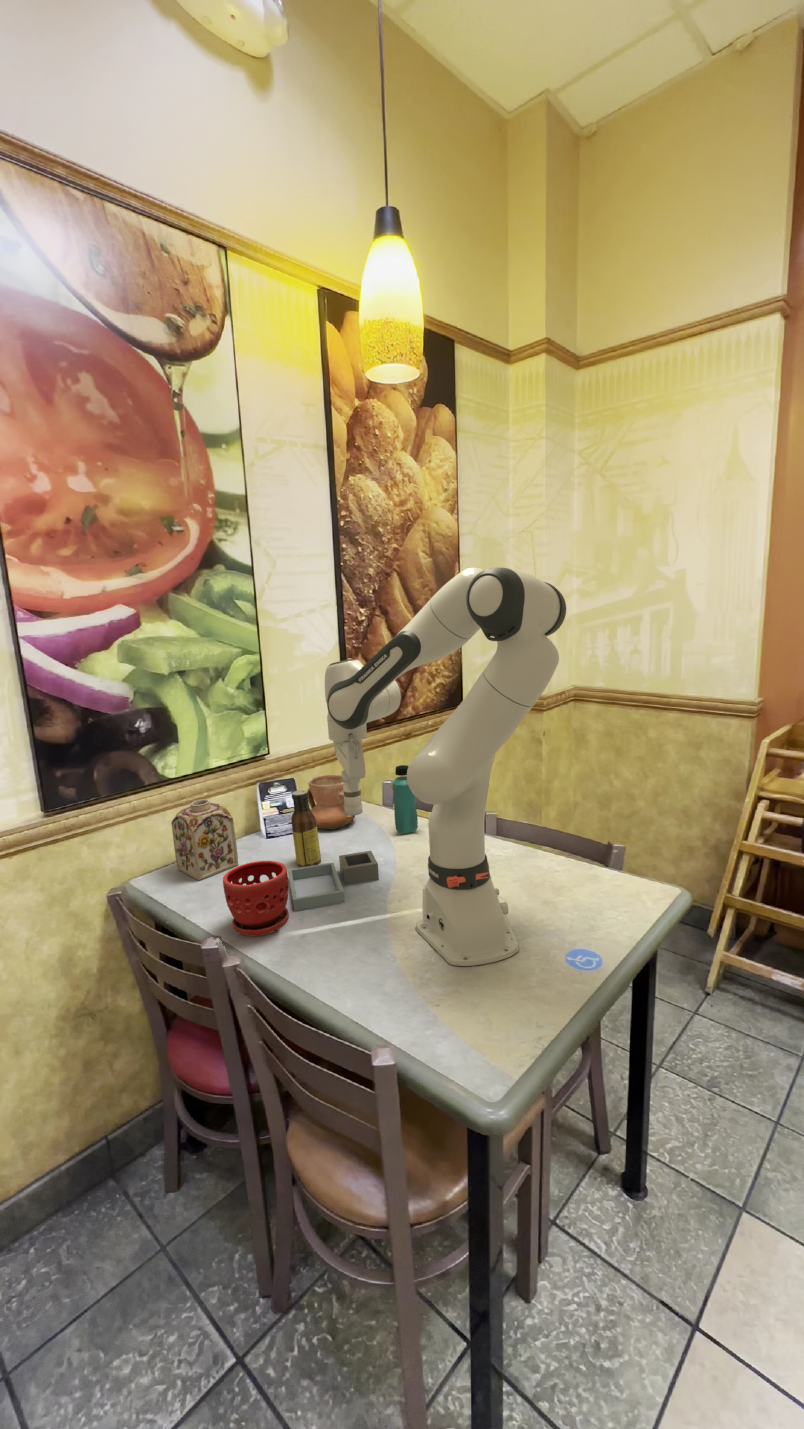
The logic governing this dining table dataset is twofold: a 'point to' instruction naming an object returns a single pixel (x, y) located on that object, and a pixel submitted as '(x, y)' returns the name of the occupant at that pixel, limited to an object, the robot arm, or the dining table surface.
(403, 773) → the beverage bottle
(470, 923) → the robot arm
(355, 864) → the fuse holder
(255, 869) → the plant pot
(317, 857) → the sauce bottle
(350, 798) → the cylinder
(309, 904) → the parts tray
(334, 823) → the ceramic jug
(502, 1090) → the dining table surface
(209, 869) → the decorative jar
